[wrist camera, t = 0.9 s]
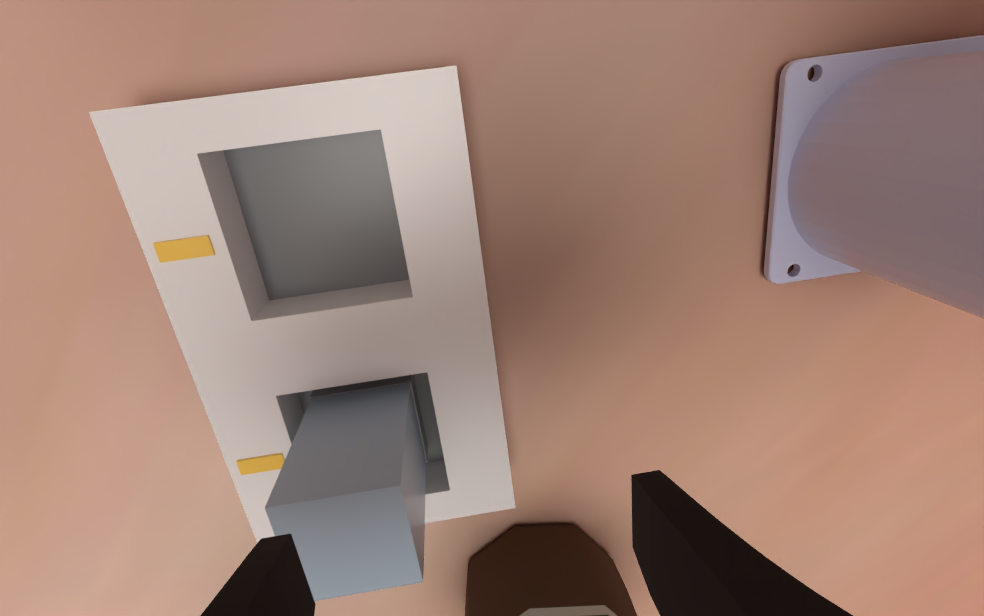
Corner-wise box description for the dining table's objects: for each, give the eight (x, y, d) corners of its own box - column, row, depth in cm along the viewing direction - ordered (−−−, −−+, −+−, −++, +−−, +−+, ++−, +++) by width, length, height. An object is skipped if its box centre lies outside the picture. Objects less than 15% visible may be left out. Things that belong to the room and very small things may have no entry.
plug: (412, 368, 20) (401, 483, 14) (427, 446, 21) (425, 582, 15) (315, 383, 20) (262, 507, 14) (338, 461, 21) (299, 605, 15)
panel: (453, 71, 17) (456, 65, 14) (507, 466, 23) (516, 509, 20) (138, 111, 16) (86, 112, 14) (278, 504, 22) (260, 553, 20)
